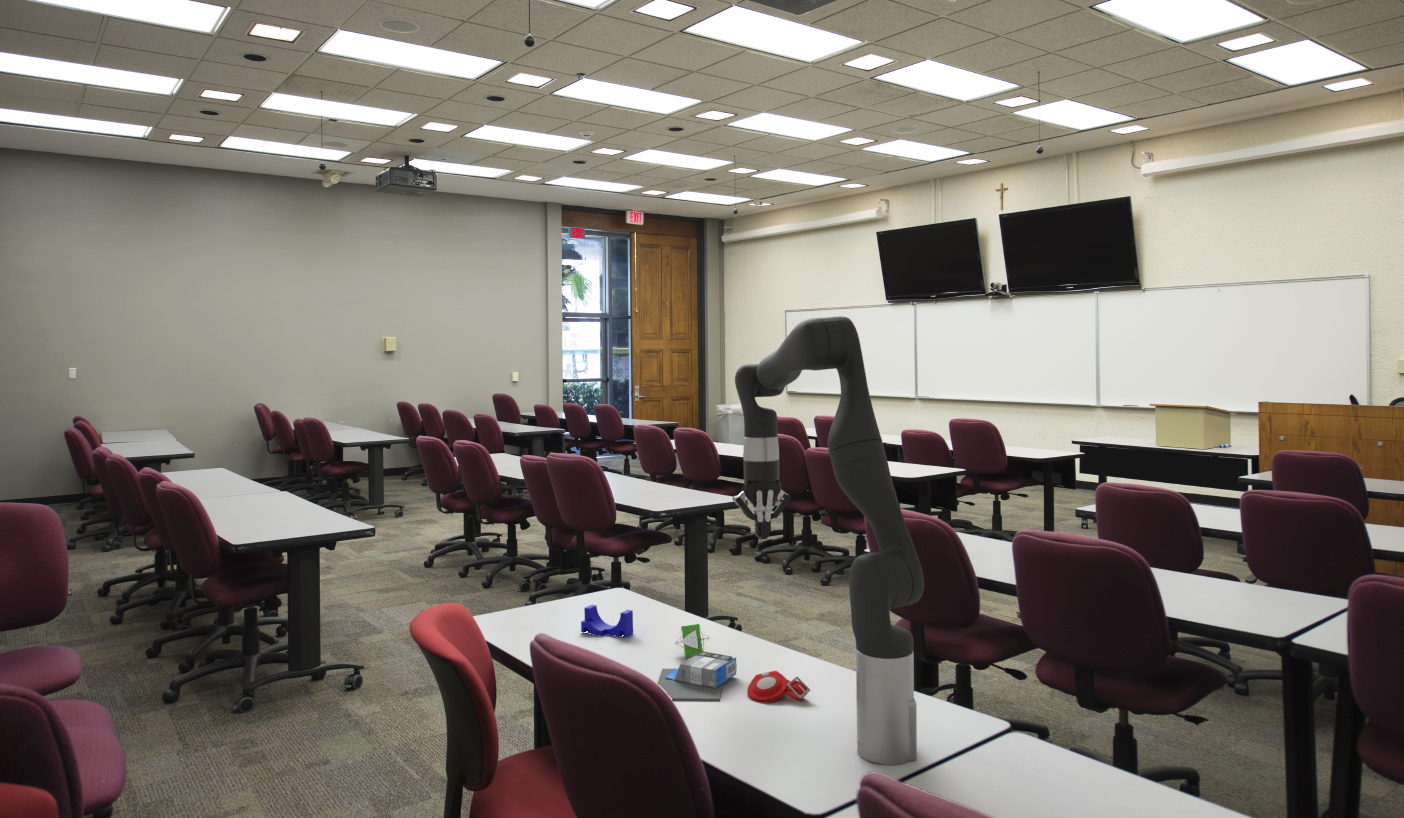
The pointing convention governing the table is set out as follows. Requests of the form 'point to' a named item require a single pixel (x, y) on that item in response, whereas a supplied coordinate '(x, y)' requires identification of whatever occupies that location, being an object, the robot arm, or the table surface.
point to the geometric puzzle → (692, 640)
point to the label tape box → (706, 669)
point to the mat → (687, 689)
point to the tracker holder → (775, 687)
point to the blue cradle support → (600, 627)
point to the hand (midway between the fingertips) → (762, 538)
